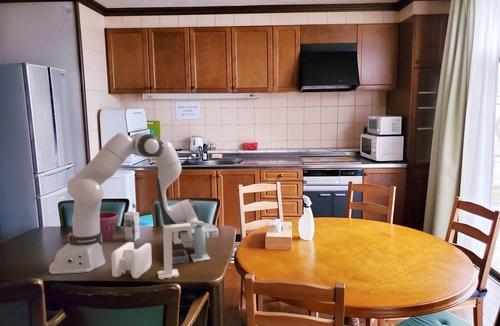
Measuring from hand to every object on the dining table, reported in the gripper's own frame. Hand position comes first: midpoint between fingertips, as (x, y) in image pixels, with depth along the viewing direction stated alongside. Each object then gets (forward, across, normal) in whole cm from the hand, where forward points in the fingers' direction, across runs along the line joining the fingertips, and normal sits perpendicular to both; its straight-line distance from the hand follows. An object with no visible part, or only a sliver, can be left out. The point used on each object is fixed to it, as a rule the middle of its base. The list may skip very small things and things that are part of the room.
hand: (200, 238), depth 172 cm
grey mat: (-1, 0, +10) cm, 10 cm away
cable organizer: (+6, -30, +10) cm, 33 cm away
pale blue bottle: (-1, 0, +8) cm, 8 cm away
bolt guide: (+13, -14, +10) cm, 21 cm away
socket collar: (-2, -10, +10) cm, 14 cm away
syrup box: (-38, -28, +10) cm, 48 cm away
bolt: (+16, -11, -6) cm, 20 cm away
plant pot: (-44, -42, +10) cm, 62 cm away
